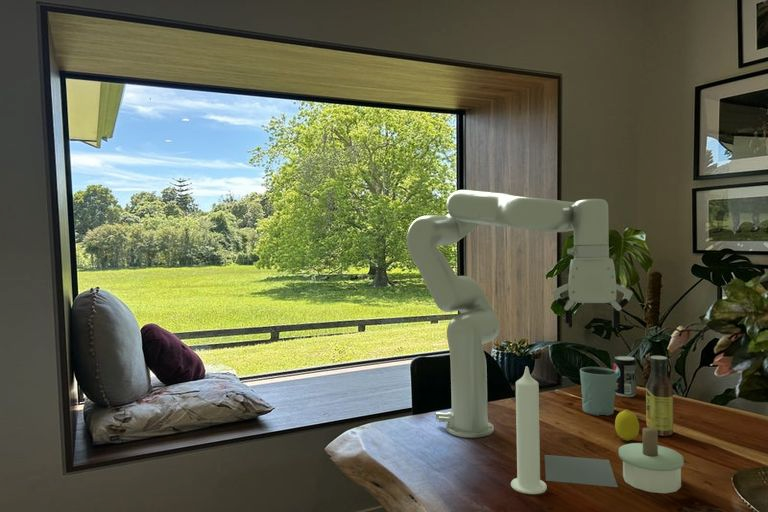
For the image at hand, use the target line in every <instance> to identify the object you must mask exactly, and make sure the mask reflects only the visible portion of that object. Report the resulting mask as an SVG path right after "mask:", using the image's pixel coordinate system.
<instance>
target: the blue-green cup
mask: <svg viewBox="0 0 768 512" xmlns="http://www.w3.org/2000/svg"><path fill="white" fill-rule="evenodd" d="M579 376H580V385H581V396H582V399H581V403H582V404H581V405H582V411H583V412H584V413H585V414H589V415H592V416H599V415H606V416H610V415H613V414H614V413H615V399H616V393H615V388H616V381H617V372H616V371H615V370H614V369H611V368H608V367H607V368H606V367H602V366H601V367H600V366H599V367H598V366H586V367H582V368H579Z"/></svg>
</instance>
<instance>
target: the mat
mask: <svg viewBox="0 0 768 512" xmlns="http://www.w3.org/2000/svg"><path fill="white" fill-rule="evenodd" d="M544 470H545V471H544V472H545V482H555V483H564V484H565V483H566V484H576V485H577V484H578V485H585V486H586V485H587V486H599V487H608V488H609V487H610V488H619V486H618V485H619V484H618V483H617V480H616V477H615V475H614V472H613V471H614V470H613V468H612V466H611V463H610V460H609V459H603V458H592V457H591V458H590V457H578V456H577V457H576V456H567V455H566V456H564V455H553V454H544Z"/></svg>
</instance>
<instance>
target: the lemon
mask: <svg viewBox="0 0 768 512" xmlns="http://www.w3.org/2000/svg"><path fill="white" fill-rule="evenodd" d="M614 428H615V432H616V434H617V435H618V437H620V438H621V439H623V440H624V441H626V442H627V441H628V442H630V441H631V440H634V439H635V438H637V436H638V435H639V431H640V422H639V419H638V417H637V415H636V414H635V413H634V412H632V411H630V410H629V409H624V410H622V411H620V412H618V414H617V415H616V417H615V421H614Z"/></svg>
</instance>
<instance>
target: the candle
mask: <svg viewBox="0 0 768 512" xmlns="http://www.w3.org/2000/svg"><path fill="white" fill-rule="evenodd" d="M524 368H525V369H524V373H523V375H522V376H521V377H520V378H519V379H517V380H516V381H515V416H516V417H515V419H516V423H515V424H516V469H517V470H516V471H517V472H516V475H517V476H516V478H513V479H512V480H511V482H510V486H511V488H512V489H513V490H515V491H517V492H519V493H523V494H528V495H539V494H542V493H545V492H546V491H547V489H548V488H547V487H548V486H547V484H546V483H545V482H546V481H545V482H544V481H543V480H542V479H541V458H540V455H541V453H540V396H539V395H540V392H539V391H540V390H539V385H540V384H539V382H538V381H537V380H536V379H534V377H532V376H531V374H530V368H529V367H528V365H527V366H525V367H524Z"/></svg>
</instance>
